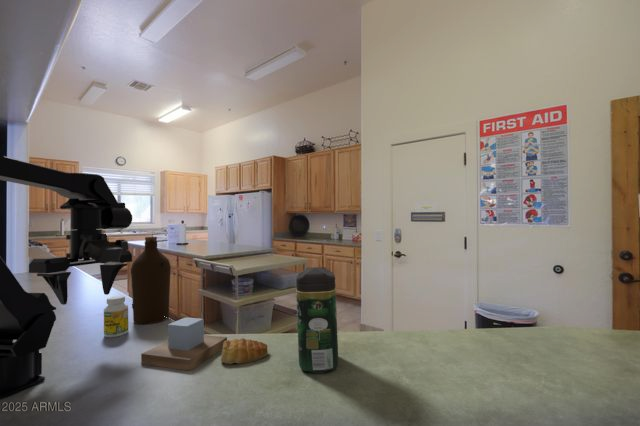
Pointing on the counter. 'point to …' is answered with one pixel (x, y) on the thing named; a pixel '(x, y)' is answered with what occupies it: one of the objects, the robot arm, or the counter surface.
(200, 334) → the block
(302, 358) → the coffee jar
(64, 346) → the counter surface
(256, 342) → the pastry
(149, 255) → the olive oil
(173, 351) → the base slab
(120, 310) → the supplement bottle
